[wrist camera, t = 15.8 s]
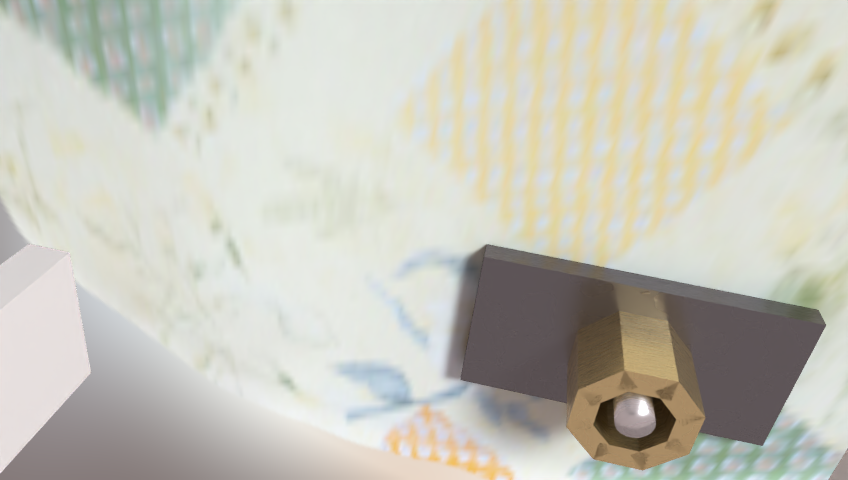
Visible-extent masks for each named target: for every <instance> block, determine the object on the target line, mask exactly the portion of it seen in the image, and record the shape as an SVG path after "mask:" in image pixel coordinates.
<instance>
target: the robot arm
mask: <svg viewBox="0 0 848 480" xmlns="http://www.w3.org/2000/svg"><path fill="white" fill-rule="evenodd" d="M90 373H91V371H90V364H89V359H88V353H87V348H86V342H85V336H84V331H83V325H82V319H81V314H80V308H79V302H78V296H77V291H76V285H75V279H74V274H73V268H72V262H71V257H70V252H65V251H60V250H56V249H51V248H46V247H42V246H37V245H32V244H28V245H26V246H25V247H24V248H23V249H21V250H20V251H18V252H17V253H16V254H14V255H13V256H12V257H10V258H9V259H8V260H6V261H5V262H4V263H3V264H1V265H0V473H1V472H2V471H3V470H4V469H5V467H6V466H7V465H8V464H9V463H10V462H11V461H12V460H13V458H14V457H15V456H16V455H17V454H18V453H19V452H20V451H21V450H22V449H23V447H24V446H25V445H26V444H27V443H28V442H29V441H30V440H31V439H32V438H33V436H34V435H35V434H36V433H37V432H38V431H39V430H40V429H41V428H42V426H43V425H44V424H45V423H46V422H47V421H48V420H49V419H50V418H51V416H52V415H53V414H54V413H55V412H56V411H57V410H58V409H59V408H60V406H61V405H62V404H63V403H64V402H65V401H66V400H67V399H68V397H70V395H71V394H72V393H73V392H74V391H75V390H76V389H77V388H78V386H79V385H80V384H81V383H82V382H83V381H84V380H85V379H86V378H87V377H88V376H89V374H90ZM829 480H848V449H847V451H846V452H845V454H844V455H843V457H842V459H841V460H840V462H839V463H838V465H837V467H836V468H835V470H834V471H833V473H832V475H831V476H830V478H829Z"/></svg>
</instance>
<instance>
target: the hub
mask: <svg viewBox="0 0 848 480" xmlns="http://www.w3.org/2000/svg"><path fill="white" fill-rule="evenodd" d="M626 392H633V393H637V394H642V395H647V396H651V397H652V398H653V405H654V413H655V420H656V426H655V429H654V430H653V432H652V433H650V434H649V435H647V436H644V437H640V438H631V437H627V436H625V435H623V434H621V433H620V432H619V431H618V430H617V429H616V427H615V423H614V408H613V398H614V397H616V396H619V395H621V394H624V393H626ZM705 418H706V417H705V413H704V408H703V404H702V399H701V395H700V390H699V385H698V381H697V376H696V372H695V367H694V363H693V358H692V354H691V353H690V351H689V350H688V348H687V347H686V346H685V344H684V343H683V341H682V340H681V339H680V337H679V336H678V334H677V333H676V332H675V330H674V329H673V328H672V326H671V325H670V323H669V322H668V321H666V320H661V319H656V318H651V317H646V316H641V315H636V314H631V313H627V312H622V311H618V312H616V313H614V314H612V315H610V316H608V317H605V318H603V319H601V320H599V321H597V322H595V323H593V324H590V325H588V326H586V327H584V328H582V329H580V330H578V332H577V335H576V338H575V342H574V345H573V349H572V352H571V355H570V359H569V362H568V368H567V423H566V427H567V428H568V429H569V431H570V432H571V433H572V434H573V435H574V437H575V438H576V439H577V440H578V441H579V443H580V444H581V445H582V446H583V447H584V449H585V450H586V451H587V452H588V453H589V455H590V456H591V457H592V458H593V459H595V460H599V461H604V462H608V463H613V464H617V465H622V466H626V467H630V468H635V469H639V470H645V469H648V468H651V467H654V466H656V465H659V464H662V463H665V462H668V461H671V460H674V459H676V458H679V457H682V456H685V455H688V454H689V453H690V451H691V449H692V446H693V444H694V442H695V440H696V438H697V435H698V433H699V431H700V429H701V427H702V424H703V422H704V420H705Z"/></svg>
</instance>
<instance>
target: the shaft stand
mask: <svg viewBox="0 0 848 480" xmlns="http://www.w3.org/2000/svg"><path fill="white" fill-rule="evenodd" d="M618 311H622V312H627V313H631V314H636V315H641V316H646V317H651V318H656V319H661V320H666V321H668V322H669V323H670V325H671V326H672V328H673V329H674V330H675V332H676V333H677V334H678V336H679V337H680V339H681V340H682V341H683V343H684V344H685V346H686V347H687V348H688V350H689V351H690V353H691V354H692V358H693V363H694V367H695V372H696V376H697V381H698V385H699V390H700V395H701V399H702V404H703V408H704V413H705V417H706V418H705V420H704V422H703V424H702V427H701V429H700V431H699V432H701V433H706V434H711V435H715V436H720V437H724V438H729V439H733V440H738V441H743V442H747V443H752V444H756V445H761V446H763V444H764V442H765V440H766V438H767V436H768V434H769V432H770V431H771V429H772V427H773V425H774V423H775V421H776V419H777V417H778V415H779V414H780V412H781V410H782V408H783V406H784V404H785V402H786V400H787V398H788V396H789V395H790V393H791V391H792V389H793V387H794V385H795V383H796V381H797V379H798V378H799V376H800V374H801V372H802V370H803V368H804V366H805V364H806V362H807V360H808V359H809V357H810V355H811V353H812V351H813V349H814V347H815V345H816V343H817V342H818V340H819V338H820V336H821V334H822V332H823V330H824V328H825V326H826V324H825V322H824V320H823V318H822V316H821V314H820V312H819V310H816V309H811V308H806V307H801V306H795V305H790V304H785V303H780V302H775V301H770V300H765V299H760V298H755V297H750V296H745V295H740V294H735V293H730V292H725V291H720V290H715V289H710V288H705V287H700V286H695V285H690V284H684V283H679V282H674V281H669V280H664V279H659V278H654V277H649V276H644V275H639V274H634V273H629V272H624V271H619V270H614V269H609V268H604V267H599V266H594V265H589V264H584V263H578V262H573V261H568V260H563V259H558V258H553V257H548V256H543V255H538V254H533V253H528V252H523V251H518V250H513V249H508V248H503V247H498V246H493V245H488V244H487V246H486V250H485V255H484V260H483V265H482V270H481V275H480V281H479V286H478V291H477V296H476V302H475V307H474V312H473V317H472V322H471V328H470V333H469V338H468V343H467V349H466V354H465V359H464V364H463V369H462V375H461V380H464V381H469V382H473V383H478V384H482V385H487V386H491V387H496V388H501V389H505V390H510V391H514V392H519V393H523V394H528V395H533V396H537V397H542V398H546V399H551V400H555V401H560V402H564V403H567V368H568V362H569V359H570V355H571V352H572V349H573V345H574V342H575V338H576V335H577V332H578V330H580V329H582V328H584V327H586V326H588V325H590V324H593V323H595V322H597V321H599V320H601V319H603V318H605V317H608V316H610V315H612V314H614V313H616V312H618ZM613 408H614V423H615V427H616V429H617V430H618V431H619V432H620V433H621V434H623V435H625V436H627V437H631V438H640V437H644V436H647V435H649V434H650V433H652V432H653V430H654V429H655V426H656V420H655V413H654V405H653V398H652V397H651V396H647V395H642V394H637V393H633V392H626V393H624V394H621V395H619V396H616V397H614V398H613Z"/></svg>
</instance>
